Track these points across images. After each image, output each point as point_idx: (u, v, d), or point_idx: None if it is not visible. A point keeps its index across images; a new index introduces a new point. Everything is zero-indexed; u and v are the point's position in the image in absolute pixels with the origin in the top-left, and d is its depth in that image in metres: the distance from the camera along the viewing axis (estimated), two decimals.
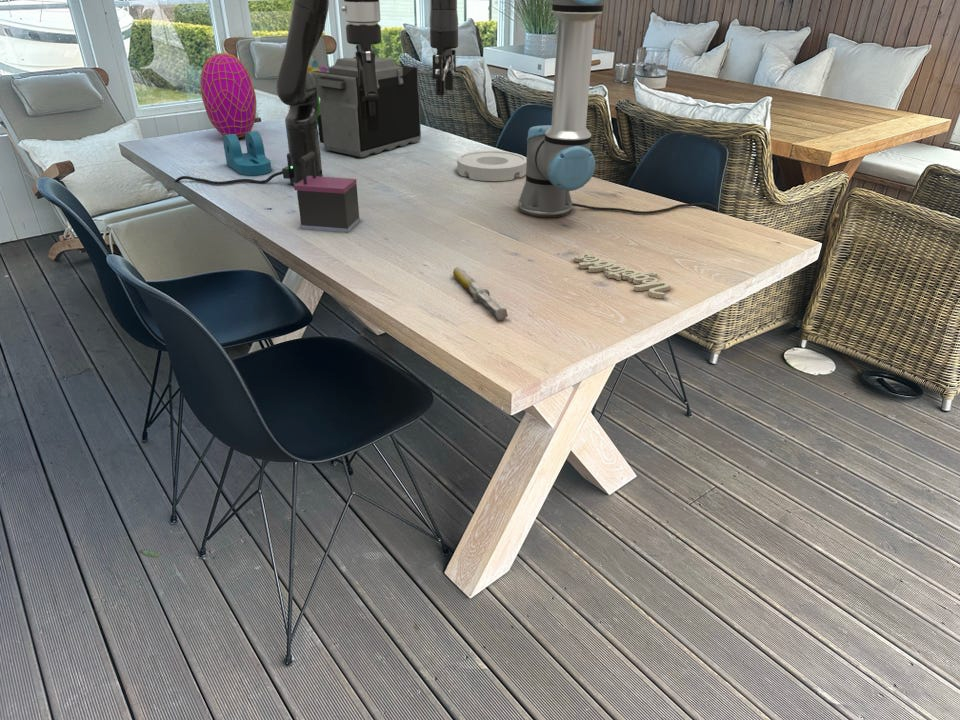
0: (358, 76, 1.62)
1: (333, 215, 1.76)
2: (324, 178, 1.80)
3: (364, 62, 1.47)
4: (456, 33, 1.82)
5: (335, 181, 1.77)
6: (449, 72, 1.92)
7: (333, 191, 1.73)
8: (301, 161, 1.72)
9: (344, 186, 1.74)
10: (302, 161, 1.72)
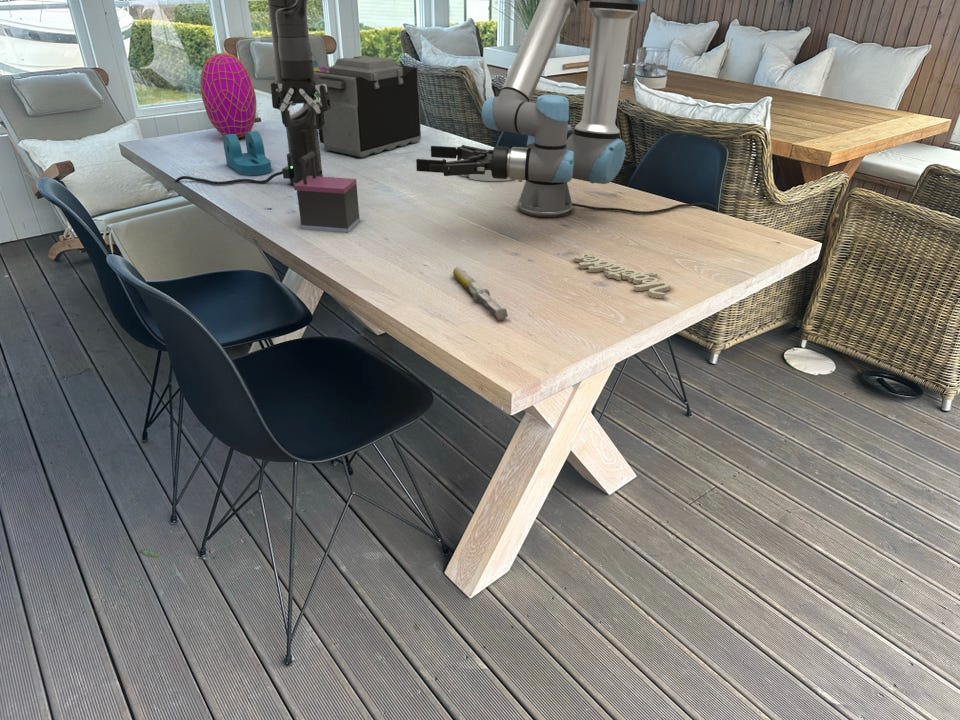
0: None
1: (333, 215, 1.76)
2: (324, 178, 1.80)
3: None
4: None
5: (335, 181, 1.77)
6: (286, 107, 1.69)
7: (333, 191, 1.73)
8: (301, 161, 1.72)
9: (344, 186, 1.74)
10: (302, 161, 1.72)
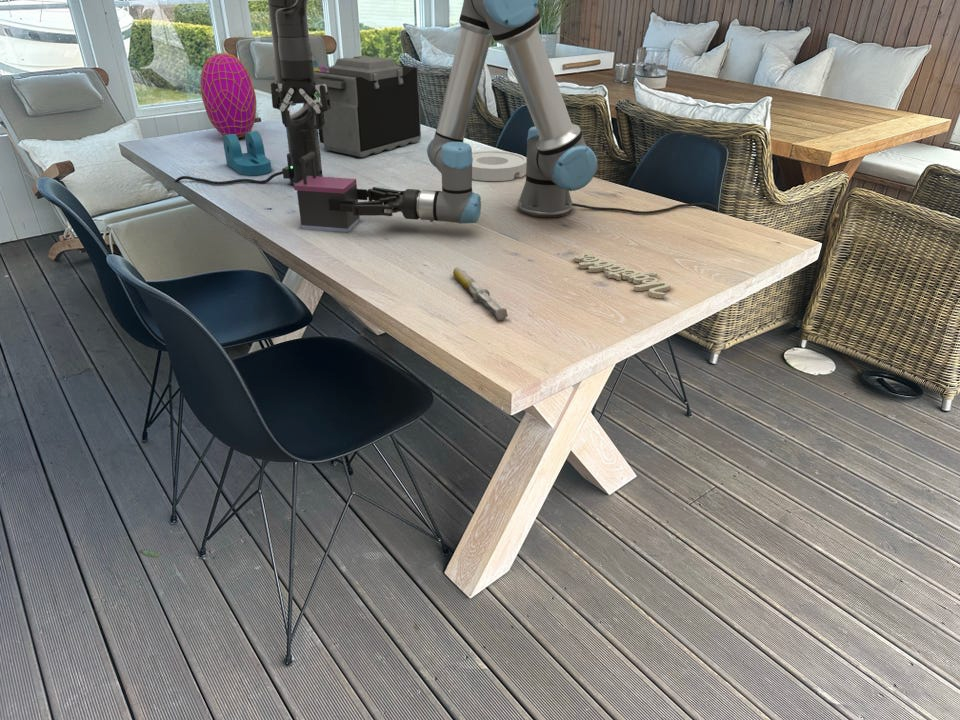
0: None
1: (333, 215, 1.76)
2: (324, 178, 1.80)
3: None
4: None
5: (335, 181, 1.77)
6: (286, 107, 1.69)
7: (333, 191, 1.73)
8: (301, 161, 1.72)
9: (344, 186, 1.74)
10: (302, 161, 1.72)
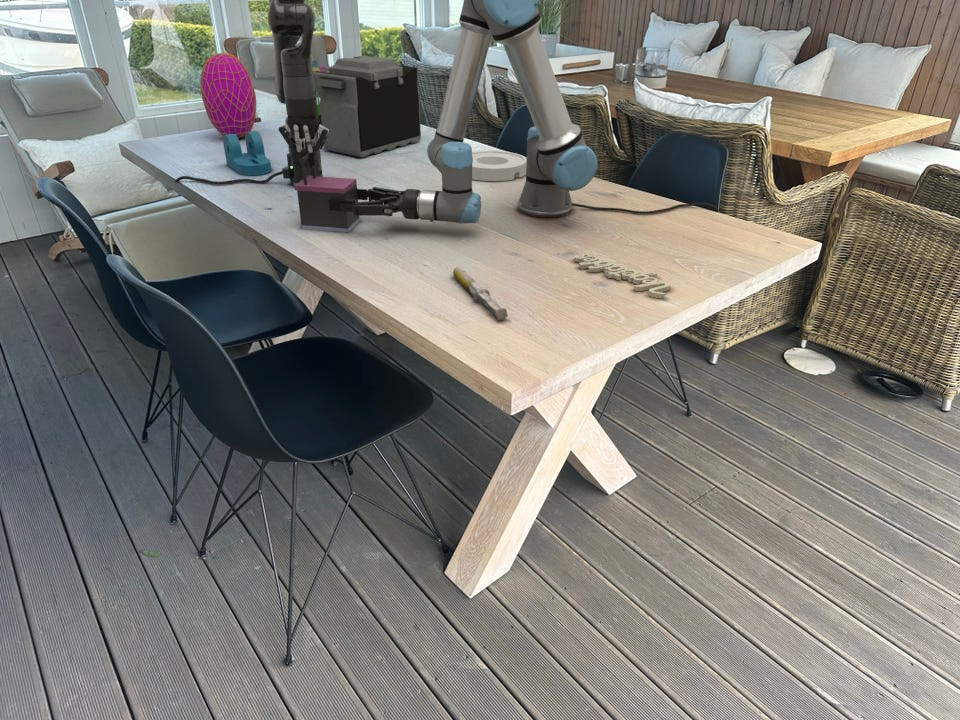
0: None
1: (333, 215, 1.76)
2: (324, 178, 1.80)
3: None
4: None
5: (335, 181, 1.77)
6: (302, 147, 1.74)
7: (333, 191, 1.73)
8: (301, 161, 1.72)
9: (344, 186, 1.74)
10: (302, 161, 1.72)
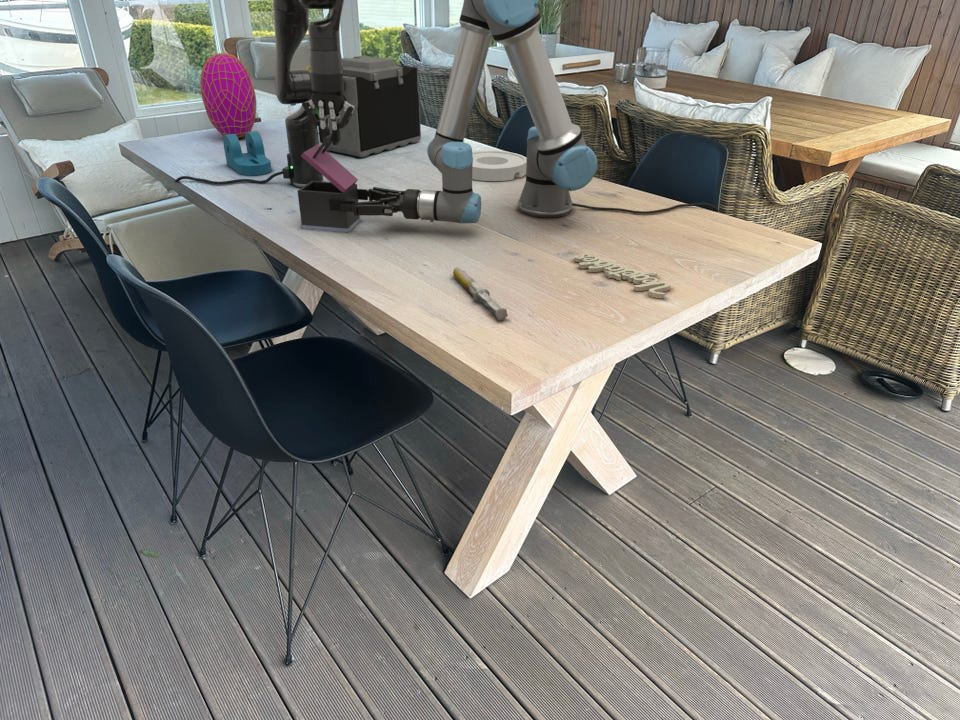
0: None
1: (333, 215, 1.76)
2: (331, 159, 1.77)
3: None
4: None
5: (340, 171, 1.76)
6: (326, 124, 1.70)
7: (335, 184, 1.72)
8: (325, 140, 1.68)
9: (346, 185, 1.74)
10: (326, 141, 1.68)
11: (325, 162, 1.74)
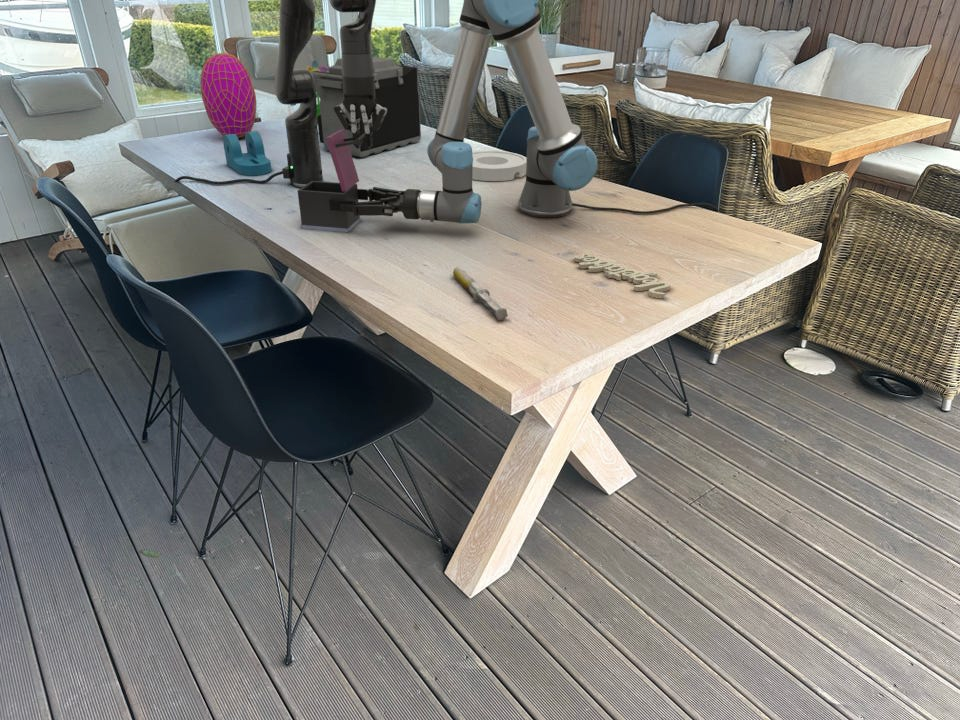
0: None
1: (334, 215, 1.76)
2: (347, 151, 1.75)
3: None
4: None
5: (349, 168, 1.75)
6: (357, 128, 1.69)
7: (340, 180, 1.71)
8: (356, 141, 1.67)
9: (348, 186, 1.74)
10: (357, 142, 1.67)
11: (342, 153, 1.72)
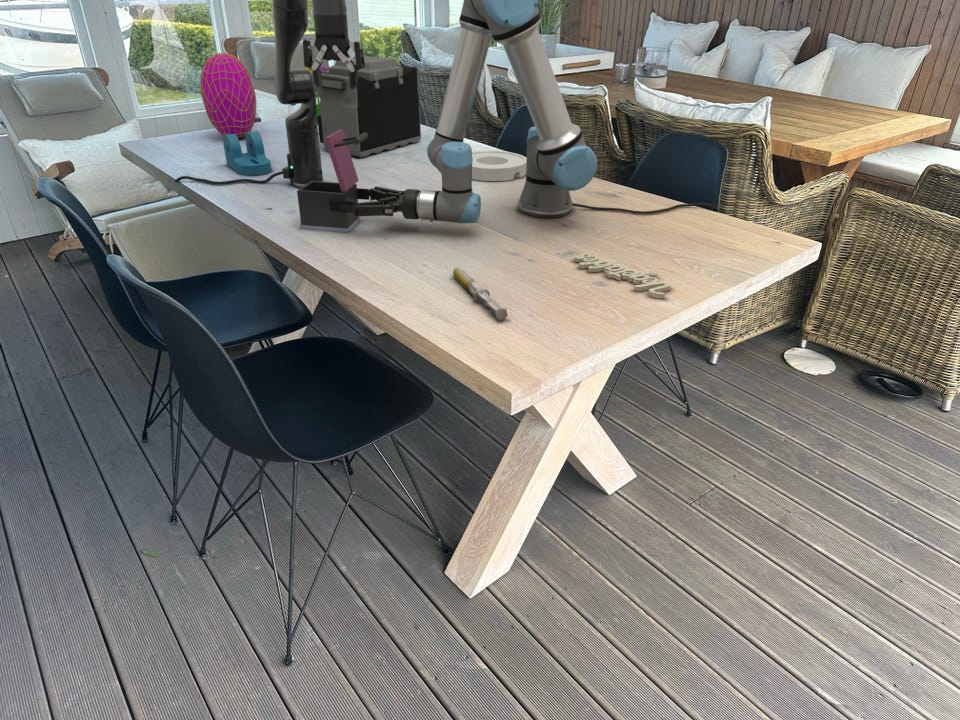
0: None
1: (333, 215, 1.76)
2: (346, 151, 1.75)
3: None
4: None
5: (348, 168, 1.75)
6: (318, 65, 1.63)
7: (339, 180, 1.71)
8: (355, 141, 1.67)
9: (348, 186, 1.74)
10: (356, 142, 1.67)
11: (341, 153, 1.72)
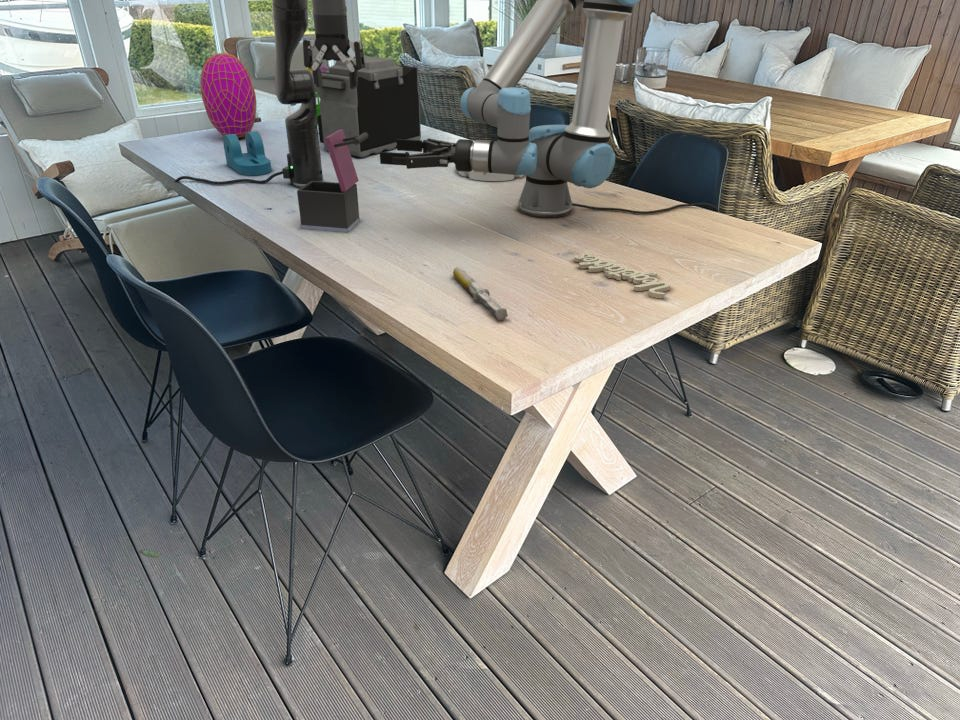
0: None
1: (333, 215, 1.76)
2: (346, 151, 1.75)
3: None
4: None
5: (348, 168, 1.75)
6: (318, 65, 1.63)
7: (339, 180, 1.71)
8: (355, 141, 1.67)
9: (348, 186, 1.74)
10: (356, 142, 1.67)
11: (341, 153, 1.72)
